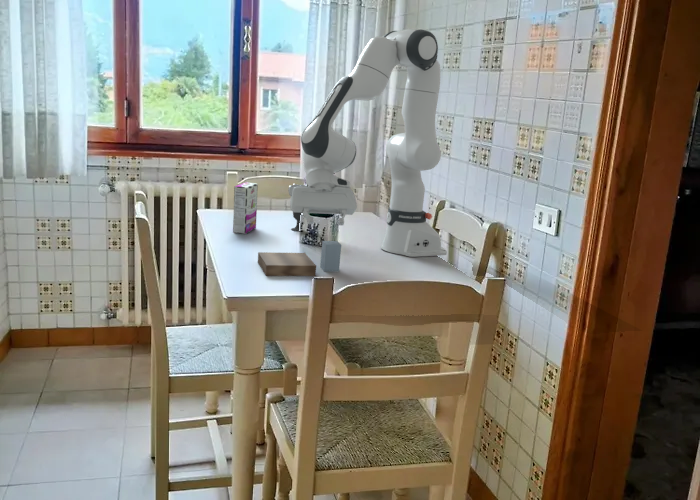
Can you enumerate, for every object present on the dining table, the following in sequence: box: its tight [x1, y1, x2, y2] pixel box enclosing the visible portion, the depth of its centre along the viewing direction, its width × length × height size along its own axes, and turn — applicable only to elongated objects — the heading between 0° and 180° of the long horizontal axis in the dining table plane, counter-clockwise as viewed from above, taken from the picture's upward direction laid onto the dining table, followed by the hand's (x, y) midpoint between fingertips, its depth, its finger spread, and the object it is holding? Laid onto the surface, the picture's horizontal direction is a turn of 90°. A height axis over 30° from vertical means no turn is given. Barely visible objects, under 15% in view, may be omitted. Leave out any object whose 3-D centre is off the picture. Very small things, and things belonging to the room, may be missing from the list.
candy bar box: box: [232, 181, 259, 235], centre depth 233 cm, size 11×5×16 cm, turn 168°
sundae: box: [290, 211, 301, 232], centre depth 242 cm, size 7×7×15 cm
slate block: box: [319, 240, 342, 272], centre depth 194 cm, size 4×4×8 cm
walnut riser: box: [257, 251, 317, 277], centre depth 190 cm, size 14×14×3 cm
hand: (326, 223), depth 198 cm, fingers open, 8 cm apart
